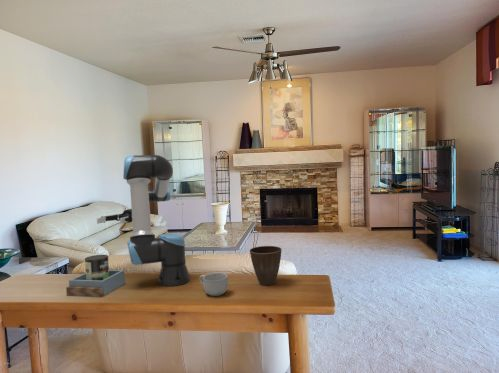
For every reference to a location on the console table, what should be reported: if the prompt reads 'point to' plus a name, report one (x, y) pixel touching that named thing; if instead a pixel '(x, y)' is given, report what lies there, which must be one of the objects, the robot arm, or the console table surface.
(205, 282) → the teacup
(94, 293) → the rail
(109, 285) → the tray
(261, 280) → the plant pot
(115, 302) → the console table surface
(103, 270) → the coffee can
